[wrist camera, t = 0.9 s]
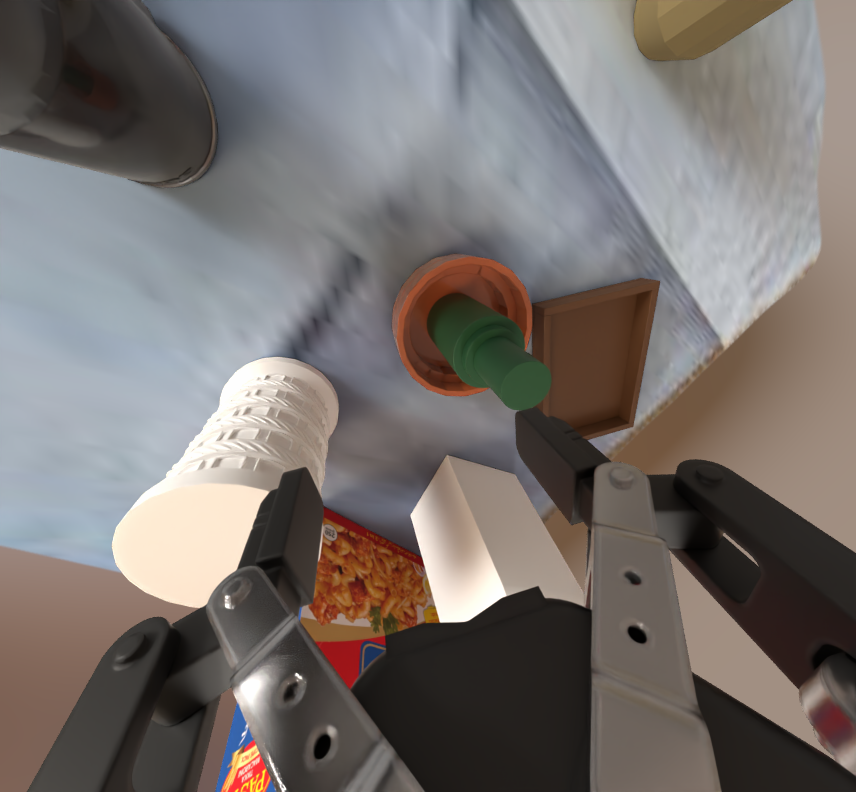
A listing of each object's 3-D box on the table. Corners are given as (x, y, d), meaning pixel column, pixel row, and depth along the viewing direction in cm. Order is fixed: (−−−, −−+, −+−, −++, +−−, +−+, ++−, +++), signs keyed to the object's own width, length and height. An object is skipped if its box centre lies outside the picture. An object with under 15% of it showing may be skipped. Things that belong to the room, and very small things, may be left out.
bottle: (421, 300, 31) (475, 353, 18) (478, 287, 32) (573, 329, 18) (431, 354, 34) (484, 437, 20) (483, 342, 35) (568, 414, 21)
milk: (515, 474, 47) (666, 701, 24) (476, 527, 50) (577, 766, 28) (446, 454, 42) (554, 711, 20) (410, 515, 46) (466, 788, 23)
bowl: (377, 269, 30) (381, 275, 25) (507, 241, 31) (531, 243, 27) (405, 389, 36) (413, 410, 32) (512, 361, 38) (533, 378, 33)
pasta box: (449, 571, 54) (527, 845, 30) (416, 597, 56) (465, 877, 31) (316, 502, 41) (263, 888, 17) (277, 538, 43) (178, 941, 18)
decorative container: (338, 358, 33) (324, 471, 17) (339, 448, 38) (330, 597, 22) (214, 354, 30) (65, 484, 15) (233, 451, 35) (139, 625, 20)
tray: (531, 303, 35) (544, 308, 32) (641, 277, 36) (660, 280, 34) (533, 441, 44) (542, 453, 42) (619, 417, 46) (633, 426, 43)
